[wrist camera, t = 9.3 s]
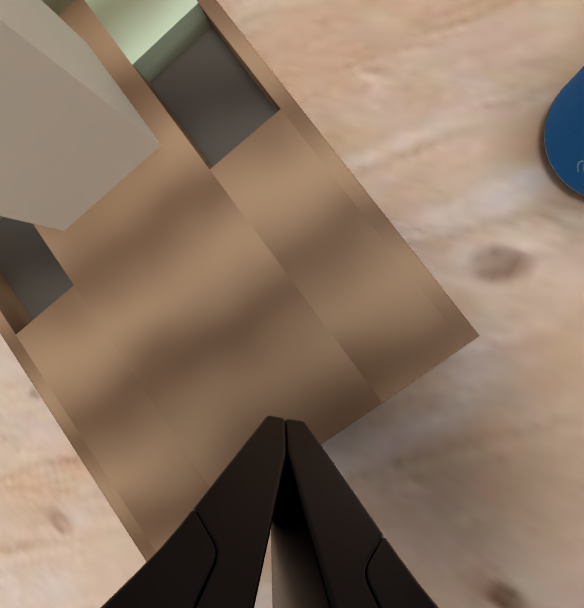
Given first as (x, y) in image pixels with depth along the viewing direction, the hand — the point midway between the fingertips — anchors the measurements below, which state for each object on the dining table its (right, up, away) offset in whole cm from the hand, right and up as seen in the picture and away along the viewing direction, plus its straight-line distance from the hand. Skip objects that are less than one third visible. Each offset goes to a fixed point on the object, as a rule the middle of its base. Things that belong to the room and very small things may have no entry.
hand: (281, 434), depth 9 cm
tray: (-7, +6, +13) cm, 16 cm away
